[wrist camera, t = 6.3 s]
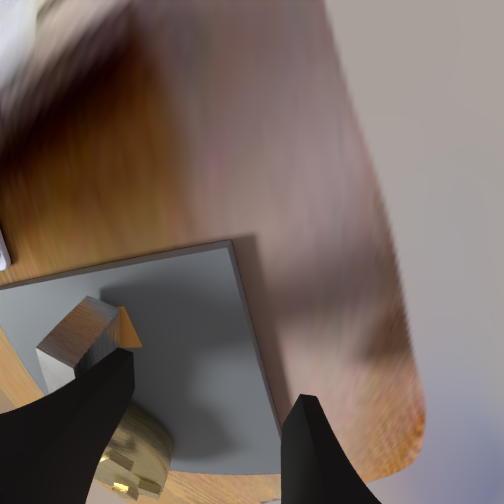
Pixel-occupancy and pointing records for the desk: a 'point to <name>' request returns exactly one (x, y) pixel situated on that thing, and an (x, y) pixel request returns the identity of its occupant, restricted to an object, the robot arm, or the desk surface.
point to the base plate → (171, 350)
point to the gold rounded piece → (134, 420)
